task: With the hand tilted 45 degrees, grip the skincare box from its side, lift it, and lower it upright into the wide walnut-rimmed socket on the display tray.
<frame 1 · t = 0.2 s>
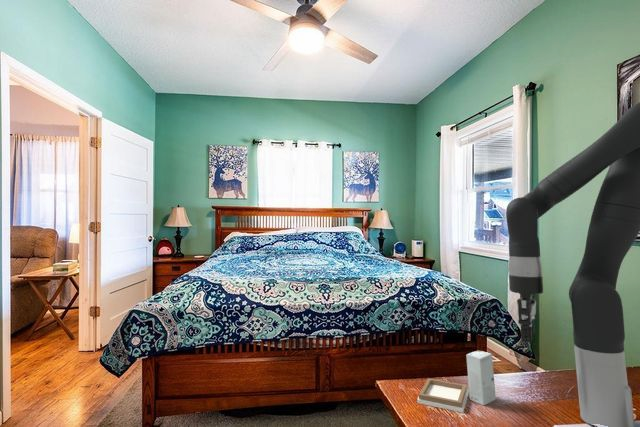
hand: (528, 337, 86), 18 cm above the dresser, tool pointing down, fingers open, 8 cm apart
display tray: (443, 397, 93), on the dresser
skincare box: (482, 400, 91), on the dresser
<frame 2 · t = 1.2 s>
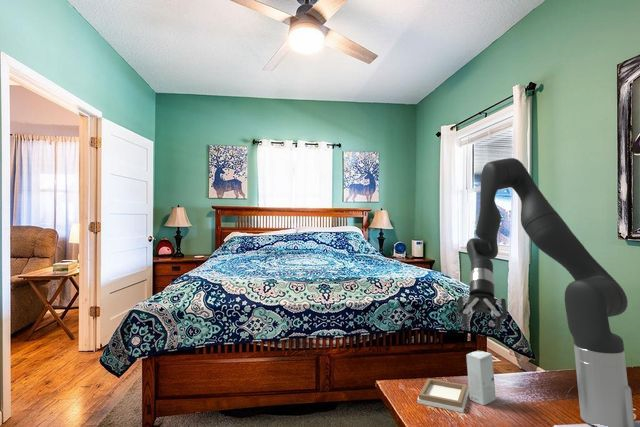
hand: (481, 328, 102), 16 cm above the dresser, tool tilted 45°, fingers open, 8 cm apart
nothing on the dresser moved.
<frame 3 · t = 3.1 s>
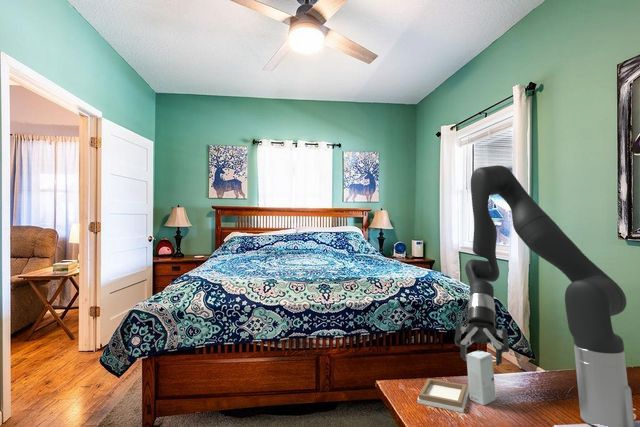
hand: (480, 362, 94), 9 cm above the dresser, tool tilted 45°, fingers open, 8 cm apart
nothing on the dresser moved.
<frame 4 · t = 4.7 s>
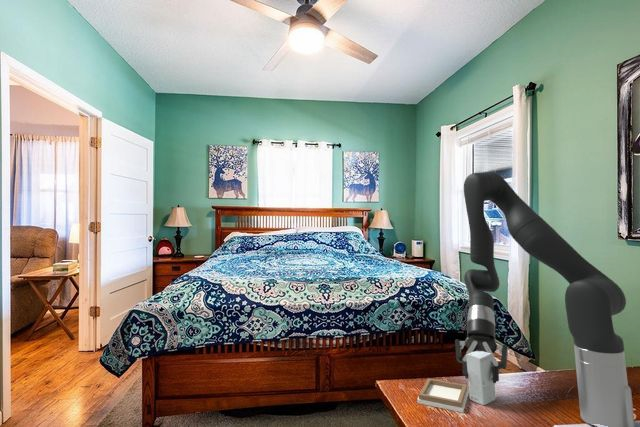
hand: (480, 379, 90), 6 cm above the dresser, tool tilted 45°, fingers closed on skincare box, 6 cm apart
skincare box: (482, 400, 91), on the dresser, touching gripper
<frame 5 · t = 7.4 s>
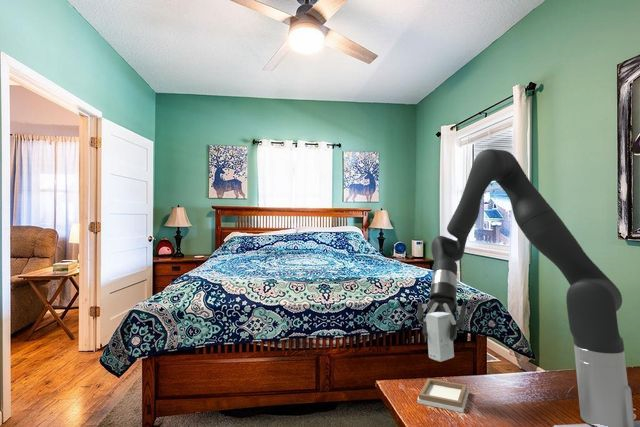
hand: (438, 337, 93), 17 cm above the dresser, tool tilted 45°, fingers closed on skincare box, 6 cm apart
skincare box: (441, 358, 94), point 11 cm above the dresser, touching gripper
when the fingers open (8 cm above the dresser, at t = 9.9 s): skincare box stays where it is, resting on display tray.
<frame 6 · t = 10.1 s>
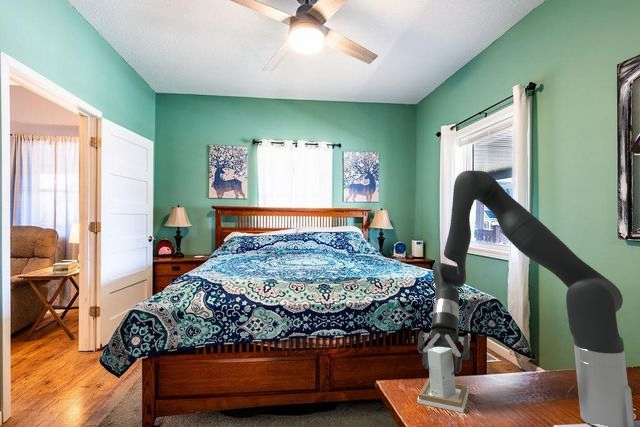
hand: (440, 369, 92), 8 cm above the dresser, tool tilted 45°, fingers open, 7 cm apart
skincare box: (443, 394, 93), point 1 cm above the dresser, touching display tray
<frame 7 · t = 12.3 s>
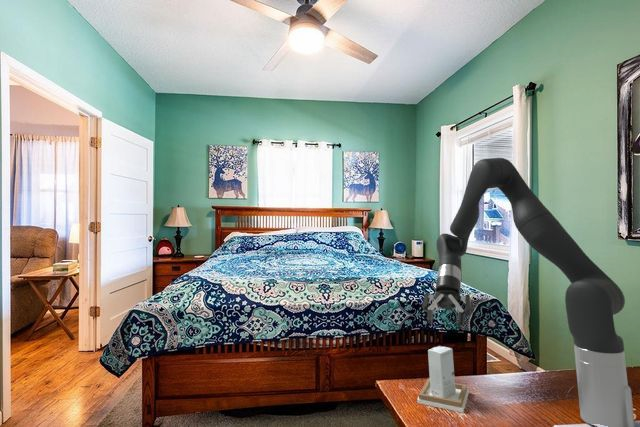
hand: (444, 324, 101), 18 cm above the dresser, tool tilted 45°, fingers open, 8 cm apart
nothing on the dresser moved.
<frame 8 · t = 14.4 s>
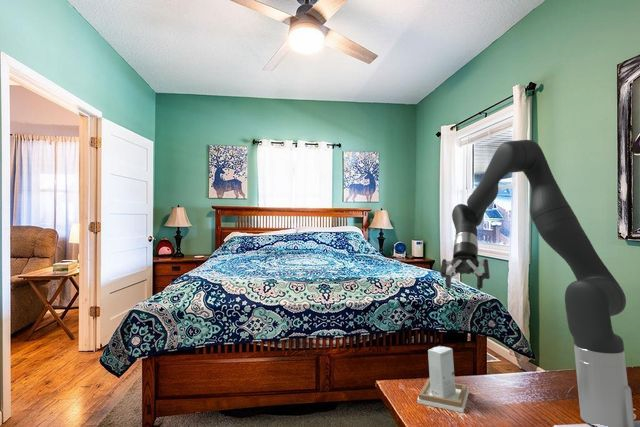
hand: (463, 287, 103), 29 cm above the dresser, tool tilted 45°, fingers open, 8 cm apart
nothing on the dresser moved.
at the end: skincare box 0.2 cm off-centre on the display tray, point 0.8 cm above the display tray's base; skincare box tilted 0°; the gripper is holding nothing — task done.
